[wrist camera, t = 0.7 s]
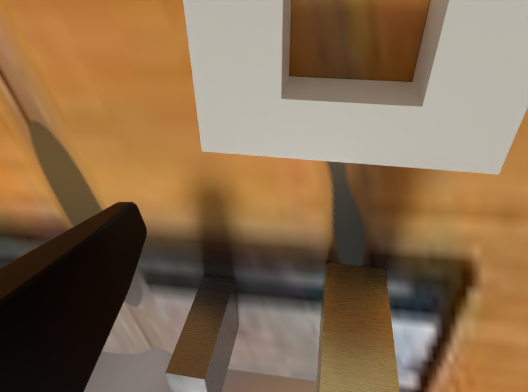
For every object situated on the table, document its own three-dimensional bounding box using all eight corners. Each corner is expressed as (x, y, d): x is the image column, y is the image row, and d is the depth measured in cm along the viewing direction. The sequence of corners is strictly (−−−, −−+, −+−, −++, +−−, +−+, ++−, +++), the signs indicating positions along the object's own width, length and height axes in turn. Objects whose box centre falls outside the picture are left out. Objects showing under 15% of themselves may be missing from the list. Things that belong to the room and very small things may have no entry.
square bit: (385, 268, 26) (403, 424, 18) (375, 305, 28) (388, 457, 20) (326, 262, 26) (318, 409, 18) (321, 298, 29) (313, 443, 21)
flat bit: (235, 279, 29) (204, 379, 23) (238, 325, 33) (213, 423, 26) (203, 275, 30) (165, 372, 23) (211, 321, 33) (179, 417, 27)
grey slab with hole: (600, -182, 12) (661, -206, 10) (479, 142, 19) (498, 174, 17) (191, -164, 14) (161, -180, 12) (217, 125, 21) (201, 151, 19)
